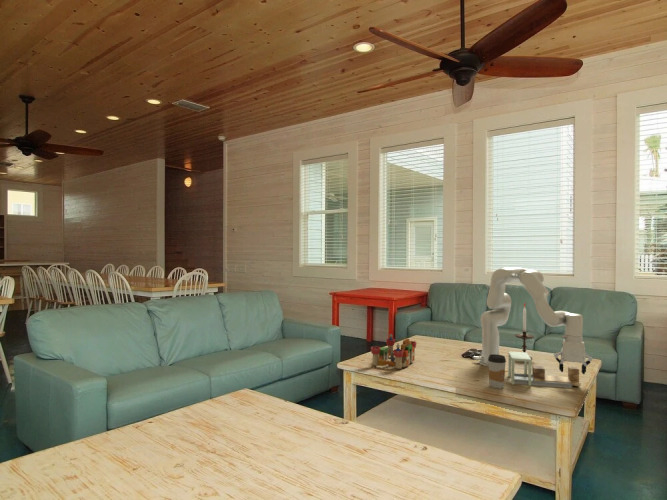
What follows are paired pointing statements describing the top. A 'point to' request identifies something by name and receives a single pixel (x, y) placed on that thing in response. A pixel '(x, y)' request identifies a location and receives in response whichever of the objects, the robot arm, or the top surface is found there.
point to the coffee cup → (496, 370)
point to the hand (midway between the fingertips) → (572, 372)
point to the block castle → (394, 353)
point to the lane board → (523, 379)
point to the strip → (571, 379)
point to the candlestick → (524, 332)
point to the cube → (538, 372)
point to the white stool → (519, 357)
